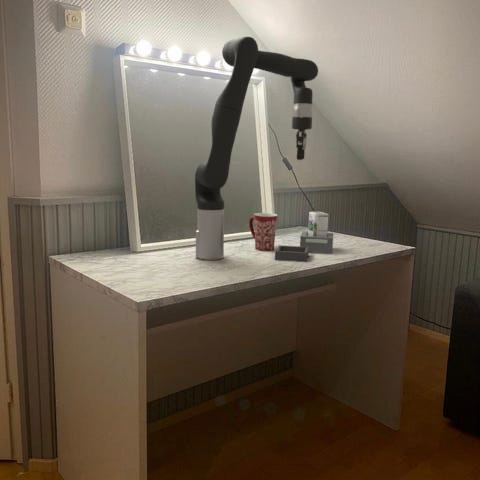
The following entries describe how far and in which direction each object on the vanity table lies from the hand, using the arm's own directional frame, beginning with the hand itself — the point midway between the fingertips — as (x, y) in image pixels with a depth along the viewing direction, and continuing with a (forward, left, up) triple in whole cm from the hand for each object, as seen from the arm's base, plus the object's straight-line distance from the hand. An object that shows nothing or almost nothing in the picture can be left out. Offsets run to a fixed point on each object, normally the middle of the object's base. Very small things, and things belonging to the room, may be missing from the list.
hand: (300, 159), depth 191 cm
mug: (-13, -9, -34) cm, 38 cm away
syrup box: (+8, -6, -34) cm, 36 cm away
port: (+8, -6, -34) cm, 36 cm away
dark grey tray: (0, -22, -34) cm, 41 cm away
